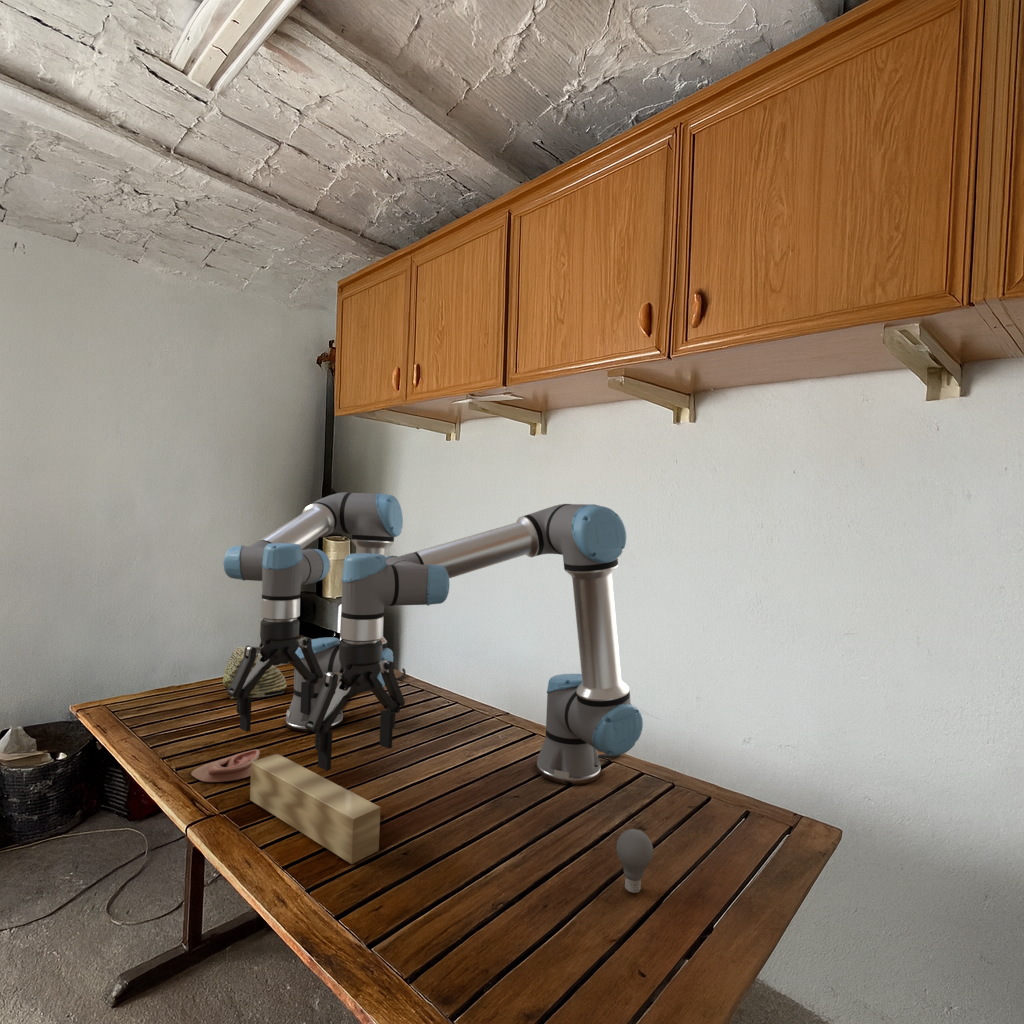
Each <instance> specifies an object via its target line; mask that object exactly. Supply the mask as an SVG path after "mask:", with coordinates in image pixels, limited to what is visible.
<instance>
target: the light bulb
mask: <svg viewBox="0 0 1024 1024" xmlns="http://www.w3.org/2000/svg"><path fill="white" fill-rule="evenodd" d="M615 849H616V854H617V857H618V859H619V861H620V863H621V865H622V867H623V873H624V874H623V875H624V876H625V878H624V888H625V890H627V891H628V892H630V893H634V894H635V893H639V892H640V891H641V889H642V887H641V886H642V879H643V877H644V875H645V871H646V868H647V867H648V866H649V864H650V863H651V861H652V859H653V855H654V847H653V843H652V841H651V838H649V836H648V835H647V834H646V833H645V832H643V831H642V830H641V829H636V828H629V829H627V830H625V831H623V832H622V833H621V834H620V835H619V837H618V839H617V841H616V847H615Z"/></svg>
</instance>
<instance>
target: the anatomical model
mask: <svg viewBox="0 0 1024 1024" xmlns="http://www.w3.org/2000/svg"><path fill="white" fill-rule="evenodd" d="M260 754H261V752H260V749H257V748H256V749H251V750H247V751H243V752H240V753H236V754H234V755H231V756H228V757H225V758H222V759H219V760H216V761H211V762H209V763H206V764H204V765H201V766H198V767H197V768H195V769H193V770H192V771H191V773H190V775H191V776H192V777H193V778H194V779H196V780H198V781H201V782H203V783H221V782H230V781H231V782H233V781H237V780H241V779H246V778H248V777H251V762H252V761H256V760H259V757H260Z"/></svg>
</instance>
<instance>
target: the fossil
mask: <svg viewBox="0 0 1024 1024" xmlns="http://www.w3.org/2000/svg"><path fill="white" fill-rule="evenodd" d="M245 647H246V646H238V647H237V648H236V649H235V650H233V651H232V653H231V656H230V657H229V659H228V660H227V663H226V666H225V668H224V671H223V675H222V676H223V677H222V685H223V687H224V688H225V690H226V691H228V689H229V687H230V685H231V682H232V680H233V678H234V676H235V674H236V672H237V670H238V668H239V666H240V664H241V661H242V659H243V657H244V651H245ZM260 657H261V654H260V653H259V654H258V657H256V659H255V662H254V664H253V666H252V668H251V671H252V670H253V668H254V667H255V666H256V662H257V661H258V659H259V658H260ZM264 663H266V661H265V662H264ZM251 671H250V672H251ZM249 674H250V673H249ZM287 687H288V686H287V680H286V678H285V676H284V674H283V673H282V672H281V669H279V668H278V667H277V665H276V666H274V665H272V666H271V667H270V668H269V669H268V670H266V672H265V673H264V674H263V676H262V677H261V679H260V680H259V681H258V683H257V684H256V686H255V687H254V688H253V690H252V691H251V693H250V694H249V695H248V697H250V698H264V697H271V696H275V695H281V694H284V693H285V691H286V689H287ZM229 698H230V699H237V697H236V698H235V697H232V696H230V695H229Z"/></svg>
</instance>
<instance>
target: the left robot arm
mask: <svg viewBox="0 0 1024 1024" xmlns="http://www.w3.org/2000/svg"><path fill="white" fill-rule="evenodd" d="M403 525H404V517H403V509H402V507H401V504H400V502H399V500H398V499H397V497H395V496H394V495H392V494H387V493H381V492H379V493H374V492H372V493H371V492H348V491H347V492H346V491H345V492H343V491H342V492H337V493H334V494H329V495H327V496H325V497H321V498H320V499H319V498H318V499H317V500H316V501H314V502H311V503H310V504H309V505H307V506H305V507H304V509H302V511H301V513H300V514H299V515H298V516H296V517H295V518H293V519H291V520H289V521H288V522H286V523H284V524H282V525H281V526H280V527H278V528H276V529H275V530H273V531H272V532H270V533H268V534H267V535H265V536H264V537H262V538H260V539H259V540H257V541H255V542H254V543H252V544H250V545H243V544H242V545H233V546H231V547H229V548H228V549H227V550H226V552H225V554H224V556H223V563H222V565H223V570H224V573H225V574H226V576H227V577H228V578H230V579H234V580H241V581H254V582H261V606H260V607H261V608H260V617H261V618H262V620H261V621H260V628H259V629H260V631H259V638H260V643H259V646H252V645H246V646H244V647H245V651H244V657H243V659H242V661H241V664H240V666H239V668H238V670H237V672H236V674H235V676H234V678H233V680H232V682H231V685H230V687H229V689H228V690H226V694H227V695H228V696H229V697H230V696H232V697H235V698H234V699H236V713H237V715H240V716H239V729H240V730H242V731H244V732H246V733H247V732H251V722H252V698H253V697H252V698H250V697H248V695H249V694H250V693H251V691H252V690H253V688H254V687H255V686H256V684H257V683H258V681H259V680H260V679H261V677H262V676H263V674H264V673H265V672H266V670H268V669H269V668H270V667H271V666H272V665H274V666H276V667H277V666H279V665H283V664H284V665H287V664H289V663H290V664H291V665H292V666H293V668H294V672H293V695H292V696H293V697H292V699H291V702H290V704H289V708H288V709H287V710H286V713H285V726H286V728H287V729H289V730H291V731H294V732H295V731H296V732H301V733H314V732H313V731H311V730H309V729H307V728H306V727H305V724H306V722H307V720H308V717H309V715H310V713H311V710H312V708H313V706H314V703H315V701H316V699H317V696H318V694H319V692H320V689H321V687H322V685H323V677H324V673H325V672H326V671H329V672H332V673H334V672H339V670H340V667H341V664H340V661H339V646H340V642H341V640H340V639H339V638H338V637H334V636H331V637H330V636H329V637H318V638H313V639H311V638H309V637H306V636H301V637H300V639H298V637H299V635H300V620H299V619H298V618H299V617H301V587H302V586H305V585H309V584H315V583H317V582H319V581H322V580H323V579H325V578H326V577H327V576H328V575H329V572H330V569H331V561H330V559H329V556H328V554H326V552H324V551H323V550H321V549H318V548H307V549H305V548H306V547H307V546H309V545H311V543H313V542H314V541H316V540H317V539H318V538H325V537H327V536H329V535H331V534H346V535H351V539H350V541H351V543H352V544H354V546H355V548H356V549H355V553H370V554H371V553H373V554H382V555H384V556H385V557H387V556H388V553H389V549H390V547H392V545H394V543H395V538H397V537H399V536H400V535H401V534H402V529H403V527H404V526H403ZM380 640H381V642H382V659H385V660H388V661H392V662H393V663H394V652H393V650H392V649H391V648H389V647H388V640H387V639H386V638H385V637H384V636H383V637H382V638H381V639H380ZM259 653H260V654H261V657H260V658H259V659H258V661H257V662H256V666H255V667H254V668H253V670H252V671H251V668H252V666H253V664H254V662H255V659H256V657H258V654H259ZM382 659H381V660H382ZM265 661H266V663H264V662H265ZM379 663H380V662H379ZM250 671H251V672H250ZM401 671H402V675H400V676H398V677H396V680H397V681H400V680H402V679H404V678H405V677H406V669H405V668H404V667H402V669H401ZM249 673H250V674H249ZM377 678H378V680H379V681H380V682H381V684H382V685H383V686H382V687H383V688H384V687H386V686H385V683H384V681H383V678H382V675H381V672H380V673H379V675H378V677H377ZM339 682H341V681H340V680H339ZM338 685H339V684H338ZM338 685H337V686H338ZM336 688H337V687H336ZM344 690H346V689H345V688H344ZM363 692H365V693H366V692H367V691H363ZM368 692H372V691H371V690H369V691H368ZM334 694H335V693H334ZM236 697H237V698H236ZM343 722H344V714H343V708H342V709H341V711H340V713H339V714H338V716H337V717H336V719H335V721H334V722H333V724H332V725H331V727H330V729H329V730H332V729H335V728H337V727H339V726H340V725H342V723H343ZM323 725H324V724H323Z"/></svg>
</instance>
